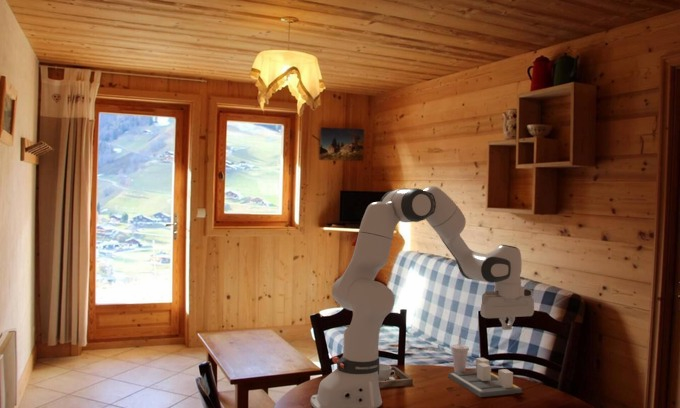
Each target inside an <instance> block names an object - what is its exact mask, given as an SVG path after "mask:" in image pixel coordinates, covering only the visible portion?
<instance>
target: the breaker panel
mask: <svg viewBox="0 0 680 408" xmlns="http://www.w3.org/2000/svg"><path fill="white" fill-rule="evenodd" d="M477 363H486V364H488V365H490V360H489V359H486V358H485V357H476V358H475V370H469V371H466V370H465V372H448V373H447V374H448V375H447V377H448V378H449V379H451V380H452V381H454V382H456V383H457V384H458V385H460V386H462V387H463V388H464V389H467V390H468V391H469V392H471V393H473V394H474V395H476V396H478V397H479V398H486V397H495V396H506V395H507V396H508V395H516V393H517V394H523V393H522V391H523V389H522V387H520V386H519V385H518V386H517V385H516V384H514V372H513V371H510V370H509V369H507V368H505V369H504V368H502V369H498V372H497V373H498V374H495V373H493V372H492V371H491V381H482V380H480V379H478V378H477Z"/></svg>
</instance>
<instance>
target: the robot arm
mask: <svg viewBox="0 0 680 408" xmlns="http://www.w3.org/2000/svg"><path fill="white" fill-rule="evenodd" d="M362 216H363V217H362V218H361V222H360V226H359V230H358V233H357V234H358V235H357V238H356V243H355V247H354V250H353V253H352V254H353V255H352V257H351V258H350V262H349V263H348V265H347V267H346V269H345V271H344V273H343V274H342V275H341V276H340V277H339V278H338V279H336V280H335V282H334V283H333V286H332V289H331V293H332V294H331V295H332V298H333V300H334V301H335V302H336V303H337V304H338V305H339V306H341V307H342V308H343V309H345V310H347V311H352V318H351V322H350V325H349V326H348V327H347V328H345V329H344V332H343V346H342V347H343V348H342V349H343V350H342V352H343V353H342V355H341V357H340V358H339V357H338V356H336V355H335V356H333V357H332V362H333V363H334V364H335V365H336V369H334V370H333V371H332V372H330V374H328V375H327V376H326V377H324V378H323V379H322V380H321V381H320V383H319V385H318V390H317V394H312V396H311V397H310V400H309V401H310V405H311V406H312V407H313V408H379V407H381V406H382V404H383V401H382V400H383V399H382V396H381V390H380V389H381V388H379V380H378V375H379V369H380V364H381V363H380V357H379V343H380V340H379V339H380V333H381V328H382V325H383V322H384V320H385V318H386V317H387V316H388V315H389V314H390V313H391V312H392V311H393V309H394V306H395V295H394V292H393V291H392V290H391V289H390V287H388V286H387V285H385V284H384V283H382V282H380V281H377V280H375V279H376V277H377V275H378V273H379V272H380V271H381V269H383V268H384V267H385V266H386V265H387V264H388V260H389V257H390V253H391V247H392V243H393V240H394V233H395V229H396V227H397V225H398V224H399V223H400V222H401V223H412V222H414V223H415V222H416V223H419V222H421V221H424V220H425V221H427V223H428V224H429V226H431V228H432V229H433V230H434V231H435V232H436V234H437V235H438V236H439V238H440V239H441V241H442V243H443V244H444V246H445V247H446V248H447V250H448V251H449V252H450V254H451V256H452V257H453V258H454V260H455V262H456V265H457V266H458V270H459V272H460V274H461V275H462V277H463V278H465V279H468V280H475V281H480V282H484V283H490V284H492V283H493V284H494V290H490V291H489V290H487V291H485V292H483V294H482V295H481V304H480V311H479V312H480V315H481V317H483V318H484V319H498V320H499V322H500V323H501V329H502V330H504V331H506V330H512V329H513V324H514V322H515V320H516V318H519V317H532V316H533V315H534V313H535V301H534V298H533V296H534V291H533V290H532V289H530V288H526V287H524V286H522V280H521V274H522V253H521V251H520V249H519V248H518V247H516V246H514V245H507V244H499V245H498V246H497V247H496V248H495V249H493V250H492V251H490V252H488V253H486V254H485V253H480V252H476V251H475V250H472V249H470V247H469V246H468V244H467V243H466V242H465V240H464V239H463V238H462V236H461V233H462V232H463V231H464V229H465V226H466V223H467V222H466V221H467V219H466V217H465V215H464V213H463V211H462V210H461V209H460V208H459V206H458V205H457V204H456V202H455V201H454V200H452V198H451V197H450V195H448V194H447V193H446V192H445V191H443V190H442V189H441V188H439V187H438V186H434V185H433V186H428V187H426V188H424V189H422V188H418V187H417V188H407V187H404V188H398V189H392V190H389V191H387V192H386V193H385V194H384V195H383V196H382V197H381V199H380V200H379V201H375V202H371V203H370V204H368V206H367V207H366V209H365V212H364V214H363V215H362ZM507 319H508V321H507ZM506 321H507V323H506Z"/></svg>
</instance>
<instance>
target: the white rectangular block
mask: <svg viewBox="0 0 680 408" xmlns="http://www.w3.org/2000/svg"><path fill="white" fill-rule="evenodd" d="M491 372H492V366H491V365H490V364H489V365H488V364H486V363H477V378H478V379H480V380H482V381H491Z"/></svg>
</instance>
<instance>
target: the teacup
mask: <svg viewBox="0 0 680 408" xmlns="http://www.w3.org/2000/svg"><path fill="white" fill-rule="evenodd" d="M391 367H392V366H391V365H389V364H385V363H380V369H379V375H378V380H379V381H385V380H387V379H388V378H389V380H396V378H395V377H394V376H395V375H396V374H395V371H394V370H391ZM391 372H394V373H393V374H392V373H391ZM391 374H392V375H391Z"/></svg>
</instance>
